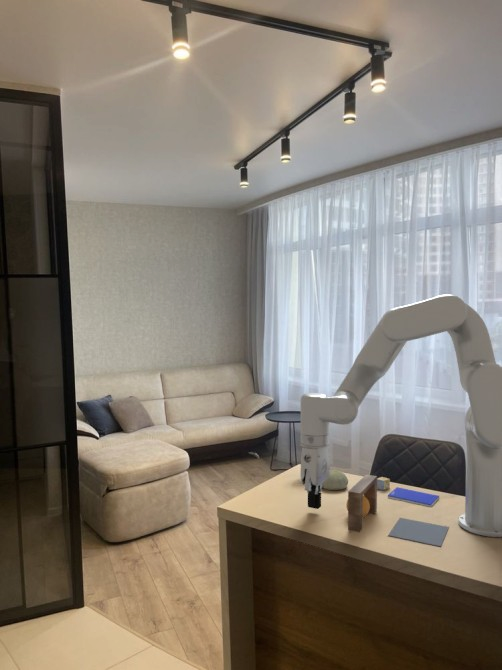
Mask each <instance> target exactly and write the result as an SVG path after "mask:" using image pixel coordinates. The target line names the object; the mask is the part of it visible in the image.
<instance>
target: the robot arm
mask: <svg viewBox="0 0 502 670" xmlns="http://www.w3.org/2000/svg"><path fill="white" fill-rule="evenodd" d="M445 332H447V333H448V335H449V336H450V338H451V341H452V344H453V348H454V352H455V356H456V363H457V367H458V373H459V381H460V385H461V387H462V388H463V390H464V391H465V392H466V393H467V395H468V399H469V405H470V406H469V407H468V409H467V410H466V413H465V416H464V431H465V447H466V448H465V451H466V453H465V506H464V513H463V514H460V515H459V517H458V521H457V522H458V525H459V526H460V527H461V528H463V529H464V530H466V531H467V532H470V533H472V534H475V535H478V536H483V537H491V538H501V537H502V366H501V365H500V364H498V363H497V362H496V358H495V354H494V349H493V345H492V341H491V337H490V333H489V329H488V327H487V324H486V323H485V321H484V319H483V318H482V317H481V316H480V314H479V313H478V312H477V310H475V309H474V308H473V307H472V306H470V305H469V304H467V303H466V302H465V301H464V300H463V299H462V298H461V297H459V296H458V295H456V294H455V295H454V294H451V293H449V294H441V295H440V294H439V295H437V296H434V297H431V298H428V299H425V300H422V301H418V302H414V303H411V304H407V305H403V306H398V307H392V308H390V309H388V310H387V311H386V312H385V313H384V314H383V316H382V317H381V319H380V320H379V321H378V323H377V325H376V326H375V327H374V329H373V331H372V333H371V334H370V335H369V337H368V339H367V340H366V342H365V343H364V345H363V347H362V348H361V349H360V351H359V352H358V354H357V356H356V357H355V359H354V362H353V364H352V366H351V368H350V369H349V371H348V372H347V374H346V375H345V377H344V379H343V380H342V382H341V383H340V384H339V386H338V388H337V389H336V391H335V393H334V394H333V396H328V395H327V394H325V393H321V392H306V393H304V394H302V395H301V397H300V446H301V447H302V448H301V457H300V482H301V484H303V485H304V491H307V507H308V508H311V509H316V510H318V509H320V508H321V507H322V493H321V492H322V488H323V487H322V483H323V482H324V481H326V480H327V479H328V478H329V476H330V470H331V468H330V467H331V466H330V465H331V464H330V449H329V445H330V442H329V440H330V438H329V437H330V423H331V424H336V425H349V424H351V423H353V422H354V421H356V419H357V417H358V414H359V413H358V412H359V407H360V406H361V405H362V403H363V401H364V400H365V398H366V396H367V395H368V393H369V392H370V391H371V390H372V388H373V387H374V386H375V384H376V383H377V382H378V381H379V380H380V379H382V378H383V377H384V376H385V375H386V374H387V372H388V371H389V370H390V368H391V367H392V365H393V364H394V362H395V361H396V359H397V358H398V356H399V354H400V353H401V351H402V350H403V348H404V346H405V345H406V343H407V342H409V341H410V342H411V341H414V340H415V341H416V340H419V339H422V338H426V337H430V336H434V335H437V334H438V335H439V334H442V333H445Z"/></svg>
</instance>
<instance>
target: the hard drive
mask: <svg viewBox="0 0 502 670" xmlns="http://www.w3.org/2000/svg"><path fill="white" fill-rule="evenodd" d="M387 499H393V500H397V501H402V502H406V503H412V504H416V505H421V506H426V507H430V508H432V507H433V506H434V504H435V503H436V502H437V501H438V500H439V499H440V495H436V494H432V493H426V492H422V491H417V490H412V489H407V488H403V487H395V488H394V489H393V490H392V491H390V492H389V493H388V494H387Z"/></svg>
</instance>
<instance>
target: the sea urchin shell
mask: <svg viewBox="0 0 502 670" xmlns="http://www.w3.org/2000/svg"><path fill="white" fill-rule="evenodd" d="M348 484H349V479H348V477H347V475H345V473H343V471H340V470H337V469H330V476H329V478H328V479H327V480H326V481H324V482H323V483H322V488H323V489H325V490H329V491H337V490H344V489H346V488H347V487H348Z"/></svg>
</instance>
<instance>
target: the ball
mask: <svg viewBox="0 0 502 670" xmlns="http://www.w3.org/2000/svg"><path fill="white" fill-rule="evenodd" d="M369 509H370V504H369V501H368V499H367V498H366V497H365V496H364V495H363V505H362V518H364V517H366V516H367V515H368V514H369V513H368V512H369ZM346 510H347V511H348V499H347V500H346Z"/></svg>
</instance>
